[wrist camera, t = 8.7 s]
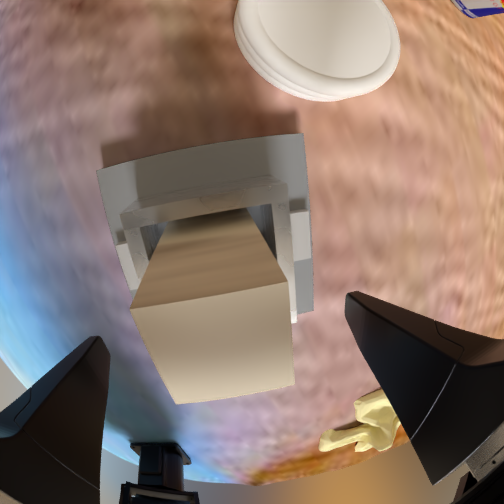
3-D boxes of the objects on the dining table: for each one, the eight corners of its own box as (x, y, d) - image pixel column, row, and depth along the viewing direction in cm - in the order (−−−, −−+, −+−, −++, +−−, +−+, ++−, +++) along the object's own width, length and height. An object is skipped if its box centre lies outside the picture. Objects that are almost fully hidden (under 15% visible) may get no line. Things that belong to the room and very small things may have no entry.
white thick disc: (201, 14, 12) (200, -12, 8) (319, -31, 11) (337, -53, 7) (295, 130, 16) (316, 128, 12) (396, 70, 14) (427, 63, 11)
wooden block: (254, 274, 17) (294, 384, 9) (186, 286, 17) (175, 404, 9) (245, 205, 15) (288, 281, 7) (169, 219, 15) (129, 309, 7)
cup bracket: (282, 291, 18) (297, 322, 15) (169, 311, 17) (163, 345, 14) (270, 174, 15) (287, 183, 12) (137, 198, 14) (119, 214, 11)
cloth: (373, 445, 37) (385, 469, 32) (291, 454, 32) (301, 487, 27) (455, 360, 31) (476, 384, 25) (387, 352, 26) (415, 390, 20)
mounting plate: (308, 301, 20) (316, 315, 19) (151, 329, 19) (148, 345, 17) (296, 133, 15) (306, 132, 14) (103, 168, 14) (92, 171, 13)
